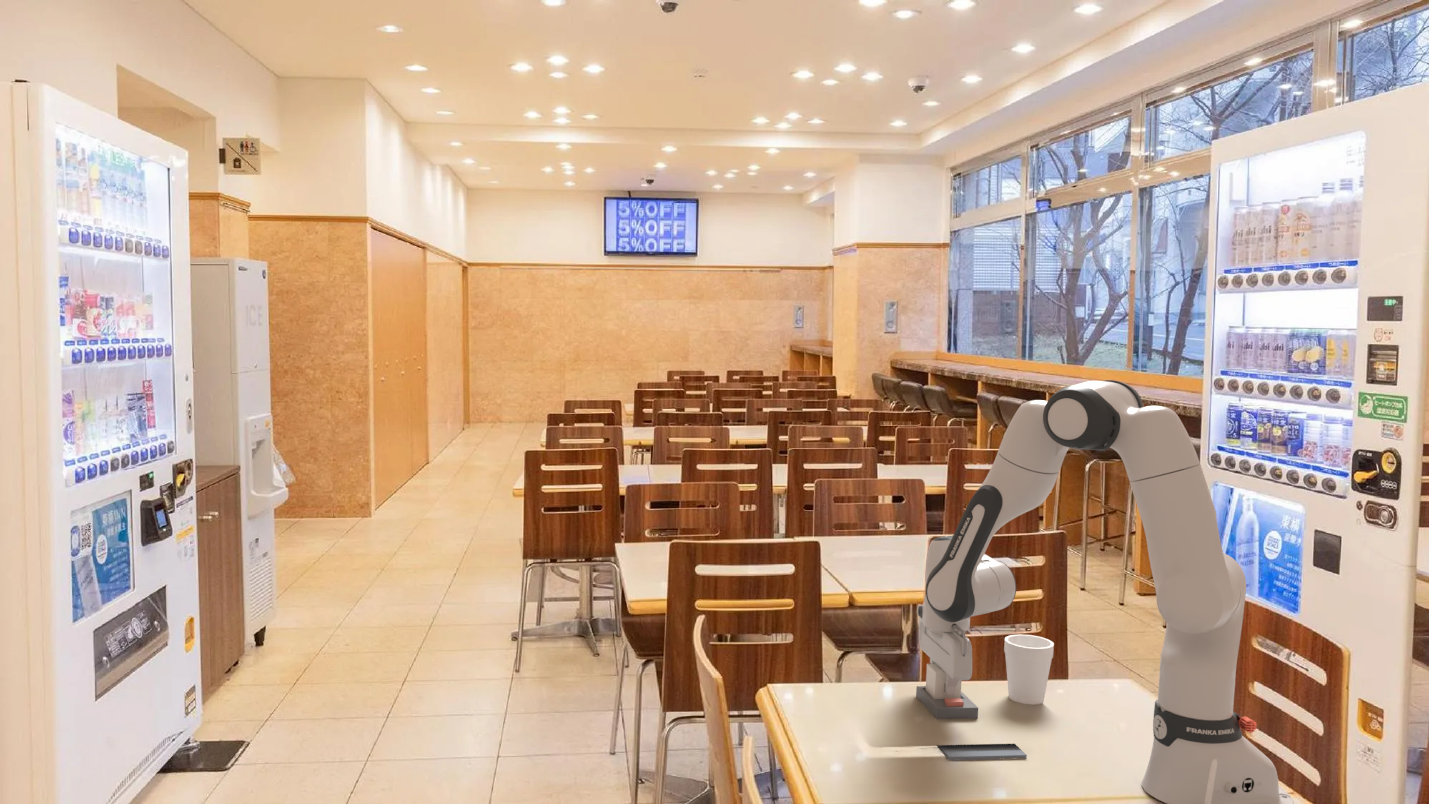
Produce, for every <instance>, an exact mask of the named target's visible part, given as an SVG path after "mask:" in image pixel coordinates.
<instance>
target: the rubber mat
mask: <svg viewBox="0 0 1429 804" xmlns="http://www.w3.org/2000/svg"><path fill="white" fill-rule="evenodd" d="M935 746H936V747H937V748H938V749H939V750H940V752H941V753H942V754H943V755H944V757H946V759H947V760H948V761H971V760H973V761H975V760H976V761H978V760H982V761H983V760H1003V759H1002V758H1007V759H1006V760H1009V759H1008V758H1025V759H1027V756H1028V755H1027V754H1026V753H1025V752H1024V751H1023V750H1022V749H1021V748H1020V747H1019V746H1018V745H1017V744H1016V743H987V744H986V743H983V744H982V743H980V744H977V743H974V744H939V745H937V744H936V745H935ZM1000 758H1001V759H1000Z"/></svg>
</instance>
